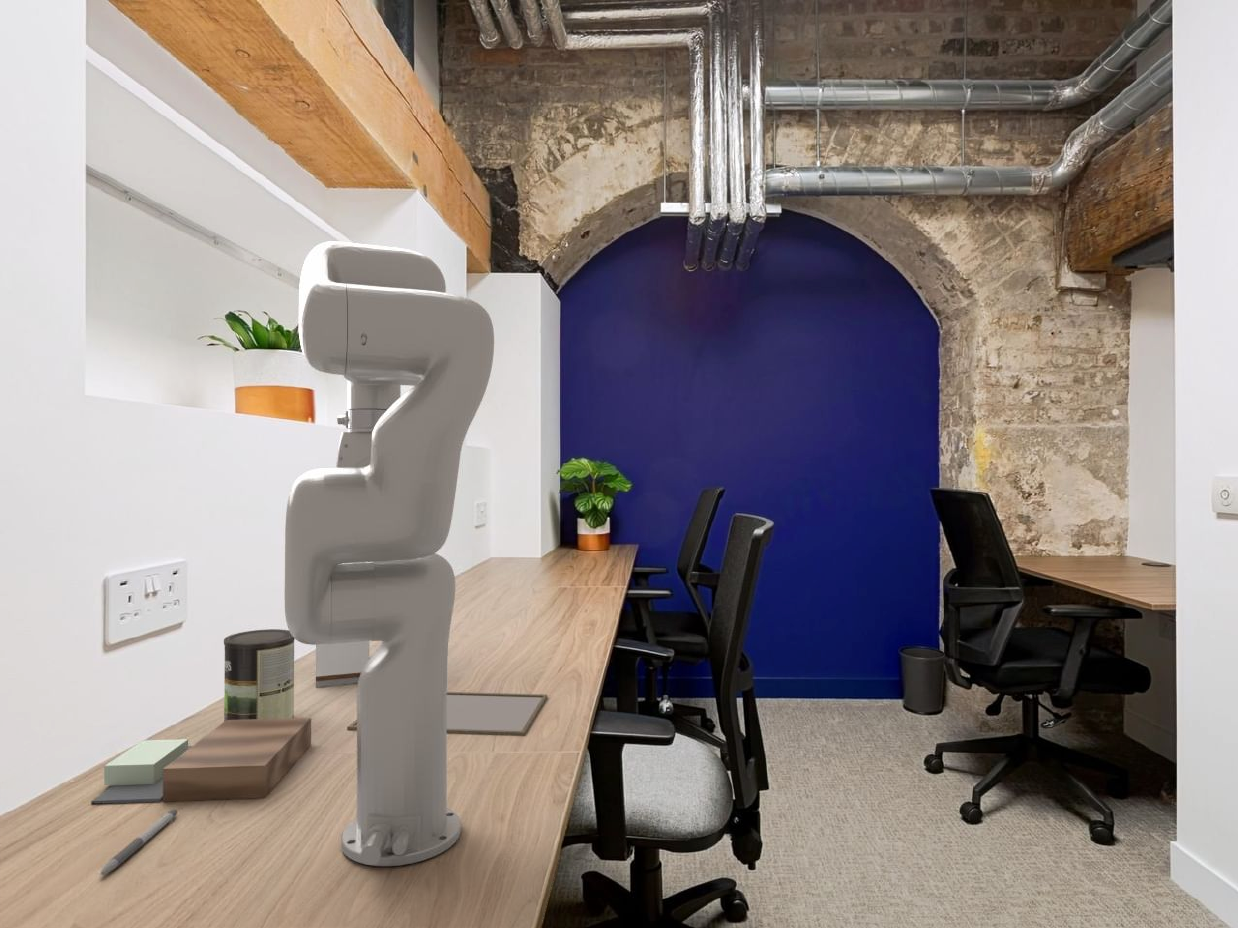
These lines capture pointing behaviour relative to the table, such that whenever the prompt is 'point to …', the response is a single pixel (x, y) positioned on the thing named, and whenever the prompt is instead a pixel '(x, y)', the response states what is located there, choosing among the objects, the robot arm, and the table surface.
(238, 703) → the coffee can
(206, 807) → the table surface
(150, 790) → the mat
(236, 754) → the brown wooden flat block
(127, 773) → the block
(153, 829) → the pen
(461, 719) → the picture frame
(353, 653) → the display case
